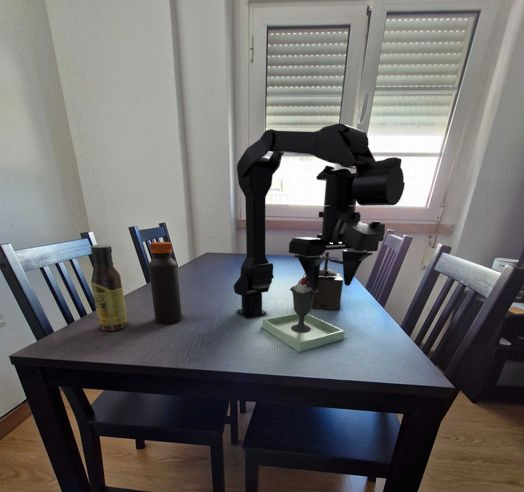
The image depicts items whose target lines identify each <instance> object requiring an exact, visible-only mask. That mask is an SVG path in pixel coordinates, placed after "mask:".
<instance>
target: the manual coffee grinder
mask: <svg viewBox="0 0 524 492" xmlns="http://www.w3.org/2000/svg"><path fill="white" fill-rule="evenodd" d="M324 255H325V256H324V257H326V258H325V260H324V267H323V268H320V271H319V280H318V287H317V289H318V293H316V294H315V296H314V299H313V304H312V308H311V309H314V310H315V309H317V310H341V300H342V294H343V293H342V291H343V286H344V278H343V277H342V275H341V273H336V272H335V271H333V270H331V269H329V268H328V265H329V262H331V263H336V264H339V265H343V260H338V259H333V258H331V257H330V252H329V251H325V252H324Z"/></svg>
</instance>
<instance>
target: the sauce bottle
mask: <svg viewBox="0 0 524 492" xmlns="http://www.w3.org/2000/svg"><path fill="white" fill-rule="evenodd" d="M90 252H91V254H92V258H93V270H92V275H91V279H90V280H91V281H90V283H91V288H92V289H91V290H92V294H93V300H94V306H95V310H96V316H97V321H98V324H99V327H100V329H101V330H102V331H107V332H113V331H119V330H122V329H124V328H126V327H127V326H128V323H127V321H128V317H127V310H126V303H125V296H124V288H123V285H122V279H121V275H120V272H119V271H118V270H117V269H116V268H115V266H114V261H113V255H112V252H113V248H112V245H109V244H93V245H91V246H90Z"/></svg>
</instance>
